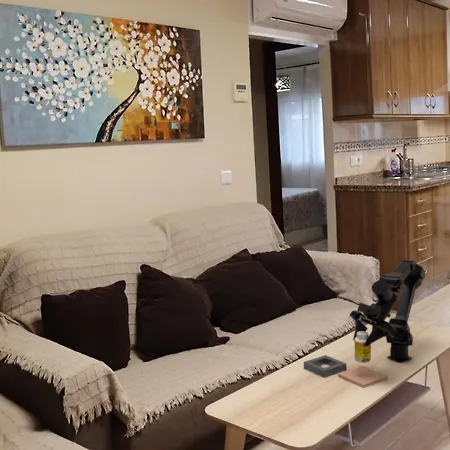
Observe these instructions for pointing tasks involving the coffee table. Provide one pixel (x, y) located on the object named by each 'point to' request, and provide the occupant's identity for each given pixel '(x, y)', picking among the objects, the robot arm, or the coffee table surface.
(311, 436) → the coffee table surface
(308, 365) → the frame
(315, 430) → the coffee table surface
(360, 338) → the supplement bottle
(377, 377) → the tile
